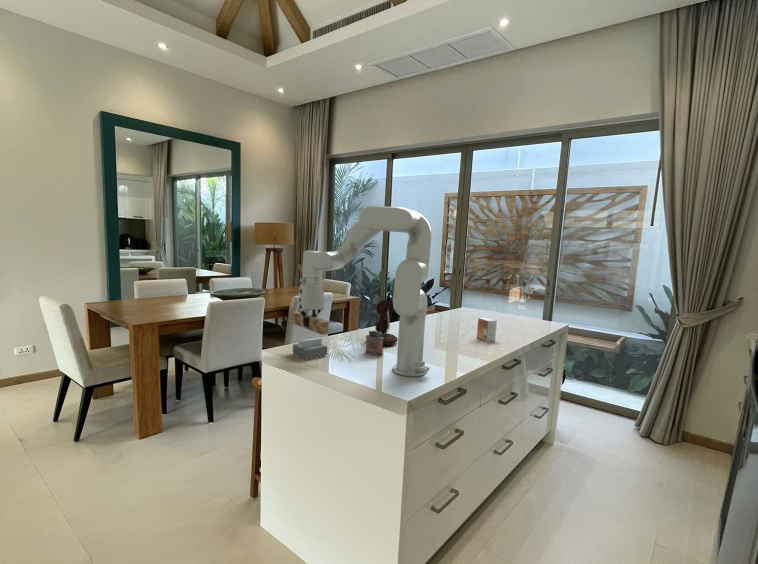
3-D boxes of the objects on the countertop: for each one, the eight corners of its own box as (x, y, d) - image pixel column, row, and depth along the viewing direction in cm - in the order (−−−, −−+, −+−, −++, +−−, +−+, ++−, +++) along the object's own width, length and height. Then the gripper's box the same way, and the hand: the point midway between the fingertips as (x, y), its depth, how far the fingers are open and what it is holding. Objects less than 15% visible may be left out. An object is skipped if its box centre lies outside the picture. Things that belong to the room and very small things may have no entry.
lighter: (363, 353, 168) (364, 330, 167) (367, 351, 171) (368, 328, 170) (380, 356, 164) (381, 333, 163) (384, 354, 167) (385, 331, 166)
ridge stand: (326, 355, 162) (327, 340, 161) (306, 360, 155) (306, 344, 154) (313, 350, 169) (313, 335, 169) (292, 354, 162) (293, 338, 162)
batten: (328, 333, 154) (328, 321, 154) (322, 334, 152) (322, 322, 152) (298, 322, 170) (298, 311, 170) (292, 323, 168) (292, 311, 168)
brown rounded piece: (395, 348, 178) (397, 304, 175) (363, 345, 180) (365, 302, 178) (398, 340, 192) (401, 299, 190) (369, 337, 194) (370, 297, 192)
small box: (476, 337, 205) (477, 317, 203) (485, 336, 207) (486, 317, 206) (486, 341, 197) (488, 320, 196) (495, 340, 200) (497, 320, 199)
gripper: (299, 283, 151) (297, 330, 153) (333, 281, 162) (331, 325, 164) (288, 280, 156) (287, 326, 158) (322, 279, 167) (321, 322, 169)
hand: (309, 325), depth 161 cm, fingers closed on batten, 2 cm apart
